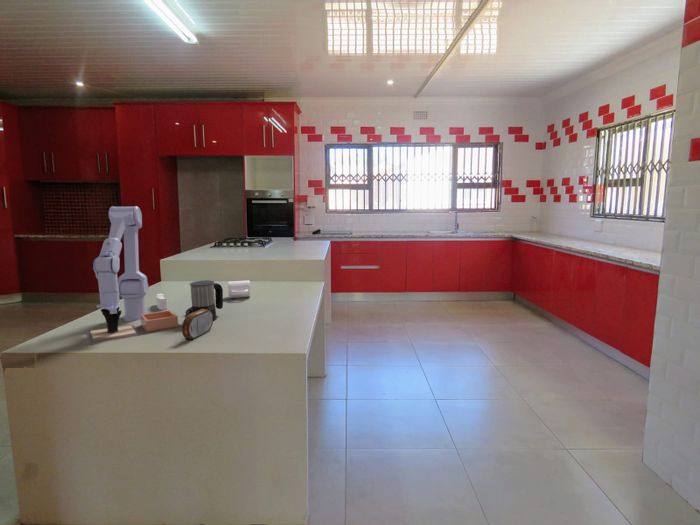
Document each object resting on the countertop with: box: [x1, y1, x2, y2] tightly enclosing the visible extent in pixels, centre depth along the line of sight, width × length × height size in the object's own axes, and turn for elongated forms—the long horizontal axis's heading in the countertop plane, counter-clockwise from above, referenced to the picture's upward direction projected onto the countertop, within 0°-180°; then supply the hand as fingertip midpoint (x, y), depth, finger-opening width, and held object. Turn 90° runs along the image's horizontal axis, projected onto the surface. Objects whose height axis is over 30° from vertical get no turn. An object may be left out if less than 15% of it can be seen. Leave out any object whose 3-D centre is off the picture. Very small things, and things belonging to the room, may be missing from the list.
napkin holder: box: [155, 293, 168, 311], centre depth 182 cm, size 15×11×6 cm
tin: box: [181, 309, 214, 340], centre depth 143 cm, size 15×3×8 cm, turn 166°
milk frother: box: [185, 280, 224, 321], centre depth 164 cm, size 14×16×15 cm
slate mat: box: [85, 324, 142, 345], centre depth 144 cm, size 15×15×1 cm
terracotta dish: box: [140, 309, 179, 333], centre depth 153 cm, size 10×10×4 cm
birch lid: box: [89, 323, 136, 342], centre depth 144 cm, size 12×12×4 cm
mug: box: [227, 279, 252, 299], centre depth 197 cm, size 12×10×8 cm
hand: (112, 329), depth 144 cm, fingers closed on birch lid, 3 cm apart
